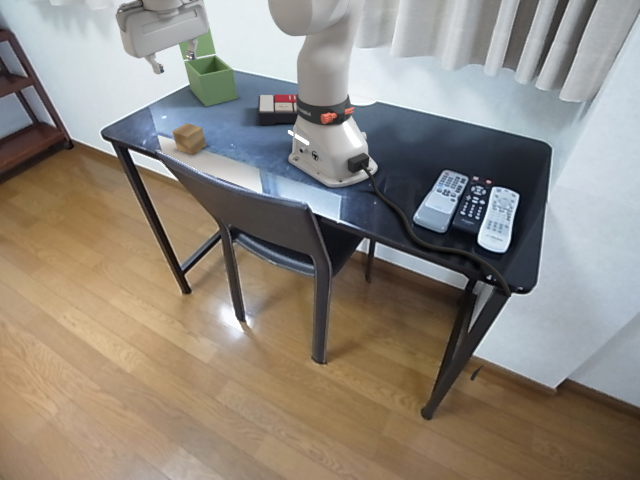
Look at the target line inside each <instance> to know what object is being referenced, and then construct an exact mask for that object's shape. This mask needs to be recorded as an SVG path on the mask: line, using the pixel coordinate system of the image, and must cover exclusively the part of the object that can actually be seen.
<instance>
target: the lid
mask: <svg viewBox="0 0 640 480" xmlns="http://www.w3.org/2000/svg"><path fill="white" fill-rule="evenodd" d="M202 2H203V3H204V4H205V1H204V0H202ZM208 24H209V25H210V22H209V21H208ZM197 41H198V44H197V48H196V51H195V52H196V57H197V58H202V57H207V56H212V55H216V52H217V51H216V48H215V45H214V40H213V35H212V32H211V27H210V26H209V29H208V32H207V34H205V35H202V36H199V37H197ZM188 44H189V42H187V41H186V42H183V43H180V44H178V47H179V49H180V53H181V57H182V60H183V61H187V60H188V59H187V57H186V56H187V55H186V53H185V51H188Z"/></svg>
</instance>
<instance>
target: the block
mask: <svg viewBox="0 0 640 480" xmlns="http://www.w3.org/2000/svg"><path fill="white" fill-rule="evenodd" d="M172 136H173V140H174V142H175V146H176V149H177V151H179V152H184V153H185V154H188V155H191V156H194V155H195V154H196V153H198V152H199V151H201V150H202V149H204V148H206V147H207V143H206V139H205V135H204V131H203V128H202V127H201V126H198V125H195V124H191V123H190V122H189V123H188V122H186V123H184V124H182V125H181V126H179V127H177V128H176V129H174V130H173V131H172Z"/></svg>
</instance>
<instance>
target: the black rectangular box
mask: <svg viewBox="0 0 640 480" xmlns="http://www.w3.org/2000/svg"><path fill="white" fill-rule="evenodd" d="M296 96H297V94H274V95H273V94H260V95H258V101H257V102H258V105H257V119H258V125H259V126H273V125H275V124H295V123H296V120H297V117H298V113H297V107H296Z"/></svg>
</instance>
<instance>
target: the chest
mask: <svg viewBox="0 0 640 480" xmlns="http://www.w3.org/2000/svg"><path fill="white" fill-rule="evenodd" d="M183 63H184V67H185V71H186V75H187V79H188V84H189V88H190V91H191V92H192V93H193V94H194V96H196V98H197V99H198V100H199V101H200V102H201V103H202V104H203V105H204V106H205V107H210V106H214V105H218V104H221V103H226V102H230V101H234V100H238V93H237V86H236V80H235V75H234V68H232V67H231V66H230V65H229V64H227V63H226V62H224V61H223V60H222V59H221V58H220V57H219V56H218V55H216V54H213V55H208V56H203V57H198V58H197V59H195V60H192V61H190V60H183Z"/></svg>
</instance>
